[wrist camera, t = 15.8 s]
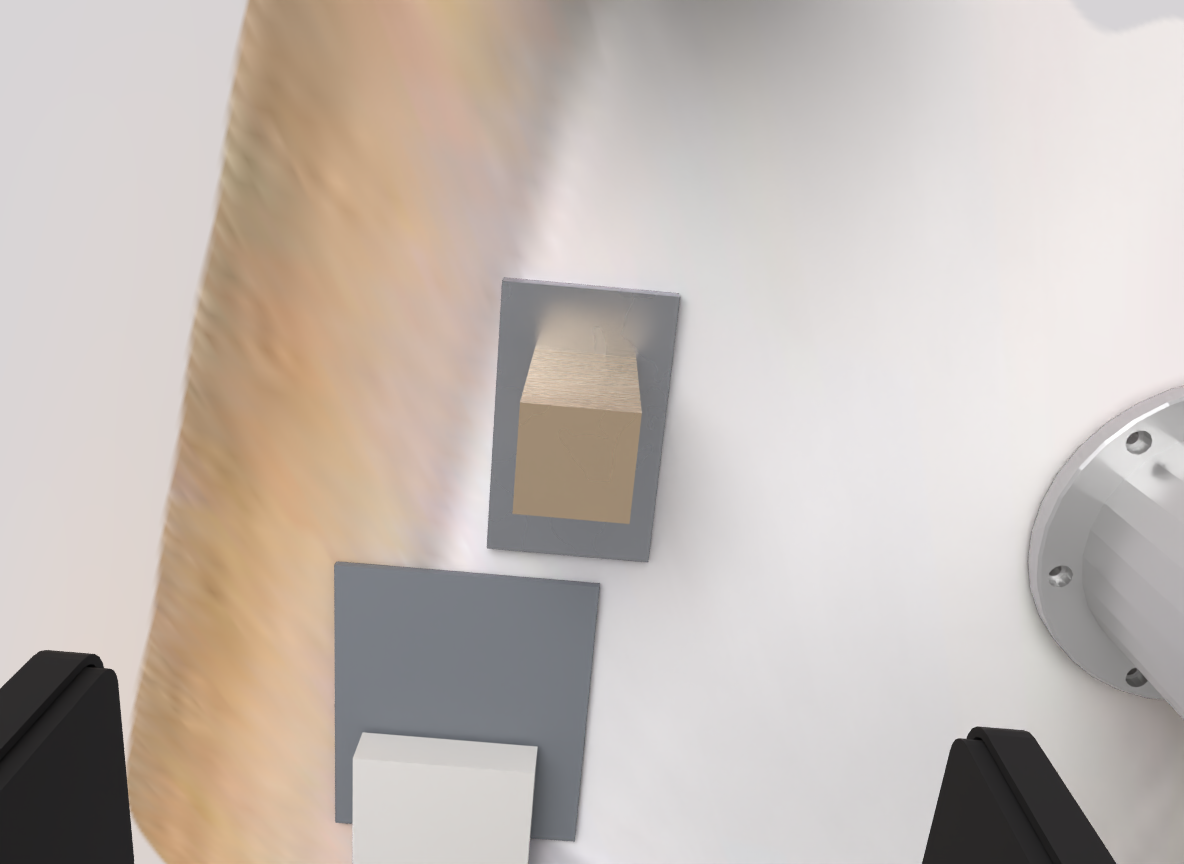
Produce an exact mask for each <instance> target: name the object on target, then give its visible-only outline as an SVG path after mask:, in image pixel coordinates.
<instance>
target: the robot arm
mask: <svg viewBox="0 0 1184 864" xmlns="http://www.w3.org/2000/svg"><path fill="white" fill-rule="evenodd" d="M1131 434H1132V435H1131ZM1130 435H1131V437H1130V438H1129V439H1127V438H1128V437H1129V436H1130ZM1028 567H1029V578H1030V589H1031V592H1032V595H1033V598H1034V601H1035V604H1036V607H1037V610H1038V613H1039V616H1040V617H1041V619H1042V621H1043V622H1044V624H1045V625H1046V627H1047V629H1048V630H1049V632H1050V634H1051V635H1052V637H1053V638H1054V639H1055V641H1056V642H1057V643H1058V644H1059V645H1060V646H1061V648H1062V649H1063V650H1064V651H1065V652H1066V653H1067V655H1068V656H1069V657H1070V658H1071V660H1073V661H1074V662H1075V663H1076V664H1077V665H1079V666H1080V667H1081V668H1082V669H1084V670H1085V671H1086V672H1087V673H1089V674H1090V675H1091V676H1092V677H1094V678H1096V679H1098V680H1100V681H1102V682H1104V683H1106V684H1108V685H1110V686H1112V687H1114V688H1116V689H1118V690H1120V691H1124V692H1127V693H1131V694H1134V695H1138V696H1141V697H1145V698H1150V699H1159V700H1166V701H1167V702H1168V703H1169V704H1170V705H1171V706H1172V707H1173V709H1174V710H1175V711H1176V712H1177V713H1178V714H1179V715H1180V716H1181V717H1182V719H1183V720H1184V386H1181V387H1176V388H1172V389H1170V390H1168V391H1165V392H1163V393H1161V394H1158V395H1156V396H1154V397H1151V398H1149V399H1147V400H1144V401H1142V402H1140V403H1137V404H1136V405H1134V406H1133V407H1131V408H1130V409H1128V410H1126V411H1125V412H1123V413H1122V414H1120V415H1118V416H1117V417H1115V418H1114V419H1112V420H1110V421H1109V422H1107V423H1106V424H1105V425H1104V426H1103V427H1101V428H1100V429H1099V430H1098V431H1097V432H1096V433H1095V434H1094V435H1092V436H1091V437H1090V438H1089V439H1088V440H1087V441H1086V442H1084V443H1083V444H1082V445H1081V446H1080V447H1079V448H1078V449H1077V451H1076V452H1075V453H1074V454H1073V455H1072V457H1071V458H1070V459H1069V460H1068V462H1067V463H1066V464H1065V465H1064V466H1063V468H1062V469H1061V470H1060V471H1059V473H1058V474H1057V476H1056V478H1055V479H1054V481H1053V483H1052V485H1051V486H1050V488H1049V490H1048V492H1047V494H1046V495H1045V497H1044V499H1043V501H1042V503H1041V506H1040V509H1039V512H1038V515H1037V517H1036V520H1035V523H1034V526H1033V529H1032V533H1031V541H1030V549H1029V557H1028ZM0 864H134V854H133V843H132V832H131V820H130V809H129V798H128V787H127V776H126V765H125V754H124V743H123V732H122V722H121V710H120V700H119V688H118V680H117V676H116V673H115V672H114V671H113V670H112V669H106V668H104V667H103V663H102V661H101V659H100V657H99V656H97V655H95V654H86V653H75V652H63V651H51V650H44V651H40V652H38V653H37V654H36V655H34V656H33V657H32V658H31V659H30V660H29V661H28V662H27V663H26V664H25V665H24V666H23V667H22V668H21V669H20V670H19V671H18V672H17V673H16V674H15V675H14V676H13V677H12V678H11V679H10V680H9V681H7V682H6V684H4V685H3V686H2V688H1V689H0ZM922 864H1116V862H1115V861H1114V859H1113V858H1112V856H1111V855H1110V853H1109V852H1108V850H1107V848H1106V847H1105V845H1104V844H1103V842H1102V841H1101V839H1100V838H1099V836H1098V835H1097V833H1096V832H1095V830H1094V828H1093V827H1092V825H1091V824H1090V822H1089V821H1088V819H1087V818H1086V816H1085V815H1084V813H1083V812H1082V810H1081V809H1080V807H1079V805H1078V804H1077V802H1076V801H1075V799H1074V798H1073V796H1072V795H1071V793H1070V792H1069V790H1068V789H1067V787H1066V785H1065V784H1064V782H1063V781H1062V779H1061V778H1060V776H1059V775H1058V773H1057V772H1056V770H1055V769H1054V767H1053V765H1052V764H1051V762H1050V761H1049V759H1048V758H1047V756H1046V755H1045V753H1044V752H1043V750H1042V749H1041V747H1040V746H1039V744H1038V742H1037V741H1036V739H1035V738H1034V737H1033V736H1032V735H1031V734H1030V732H1027V731H1024V730H1013V729H1000V728H988V727H975V728H972V730H971V731H970V732H969V734H968V736H967V739H960V738H959V739H956V740H955V741H954V742H953V744H952V747H951V749H950V753H949V757H948V761H947V765H946V769H945V773H944V777H943V781H942V785H941V789H940V793H939V797H938V801H937V805H936V810H935V814H934V818H933V822H932V826H931V830H930V834H929V838H928V842H927V846H926V850H925V854H924V858H923V862H922Z"/></svg>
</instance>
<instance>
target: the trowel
mask: <svg viewBox="0 0 1184 864" xmlns="http://www.w3.org/2000/svg"><path fill="white" fill-rule="evenodd" d="M679 302H680V295H679V293H671V292H660V291H649V290H638V289H627V288H616V287H605V286H594V285H583V284H572V283H561V282H550V281H539V280H528V279H517V278H506V277H504V278H503V280H502V293H501V311H500V328H499V345H498V363H497V380H496V397H495V415H494V432H493V449H492V466H491V484H490V501H489V518H488V536H487V548H489V549H501V550H513V551H524V552H536V553H547V554H559V555H570V556H582V557H593V558H605V559H617V560H628V561H640V562H648V560H649V552H650V543H651V535H652V527H653V518H654V510H655V502H656V493H657V485H658V477H659V468H660V460H661V452H662V443H663V435H664V427H665V418H666V410H667V402H668V393H669V385H670V377H671V368H672V360H673V352H674V343H675V335H676V327H677V318H678V310H679Z"/></svg>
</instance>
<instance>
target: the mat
mask: <svg viewBox="0 0 1184 864" xmlns="http://www.w3.org/2000/svg"><path fill="white" fill-rule="evenodd" d="M599 584H600V583H589V582H577V581H565V580H553V579H541V578H529V577H517V576H505V575H493V574H481V573H469V572H457V571H445V570H433V569H421V568H408V567H396V566H384V565H372V564H360V563H348V562H336V563H335V565H334V588H335V822H336V823H349V824H353V756H354V754H355V751H356V748H357V746H358V743H359V741H360V738H361V735H362V733H363V732H365V733H377V734H389V735H401V736H414V737H426V738H438V739H451V740H463V741H475V742H488V743H500V744H512V745H524V746H537V747H538V748H537V761H536V773H535V786H534V799H533V811H532V824H531V836H530V838H537V839H549V840H562V841H575V832H576V822H577V811H578V801H579V791H580V781H581V771H582V760H583V750H584V740H585V730H586V719H587V709H588V699H589V689H590V679H591V668H592V658H593V648H594V638H595V627H596V617H597V607H598V597H599Z"/></svg>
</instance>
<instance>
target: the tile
mask: <svg viewBox="0 0 1184 864" xmlns="http://www.w3.org/2000/svg"><path fill="white" fill-rule="evenodd" d="M537 748H538V747H537V746H524V745H512V744H500V743H488V742H475V741H463V740H451V739H438V738H426V737H414V736H401V735H389V734H377V733H365V732H363V733H362V735H361V738H360V741H359V743H358V746H357V748H356V751H355V754H354V756H353V827H352V864H528V862H529V849H530V836H531V824H532V811H533V799H534V786H535V773H536V761H537Z"/></svg>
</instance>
